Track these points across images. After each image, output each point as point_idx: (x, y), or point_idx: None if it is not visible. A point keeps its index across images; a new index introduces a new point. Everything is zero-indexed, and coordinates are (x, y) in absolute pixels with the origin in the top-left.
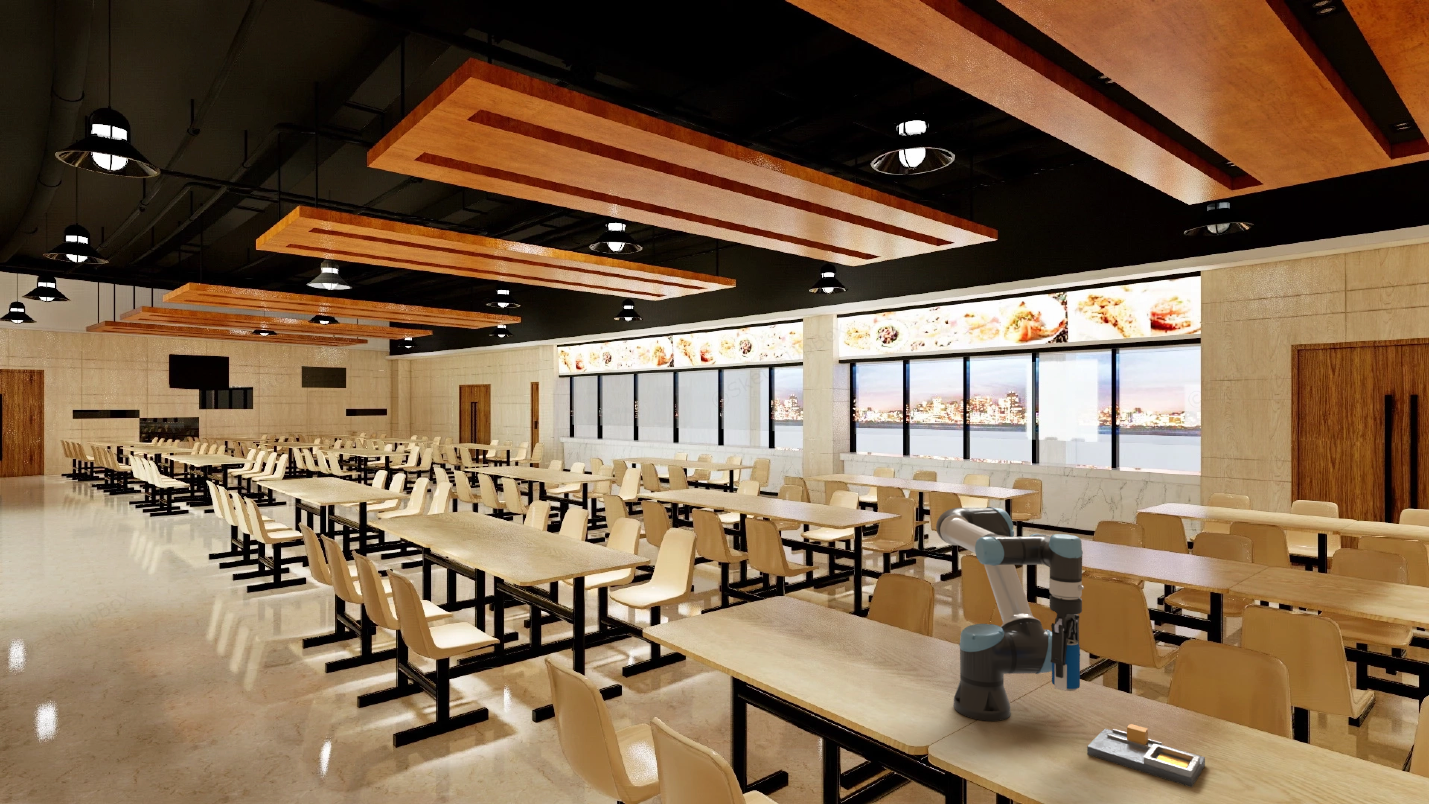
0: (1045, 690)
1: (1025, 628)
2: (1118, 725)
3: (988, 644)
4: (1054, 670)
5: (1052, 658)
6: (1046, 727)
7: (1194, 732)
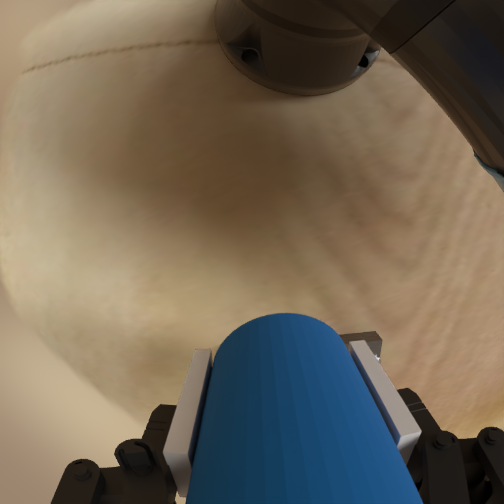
0: None
1: None
2: (448, 325)
3: None
4: (211, 395)
5: (64, 486)
6: (327, 203)
7: (472, 409)
